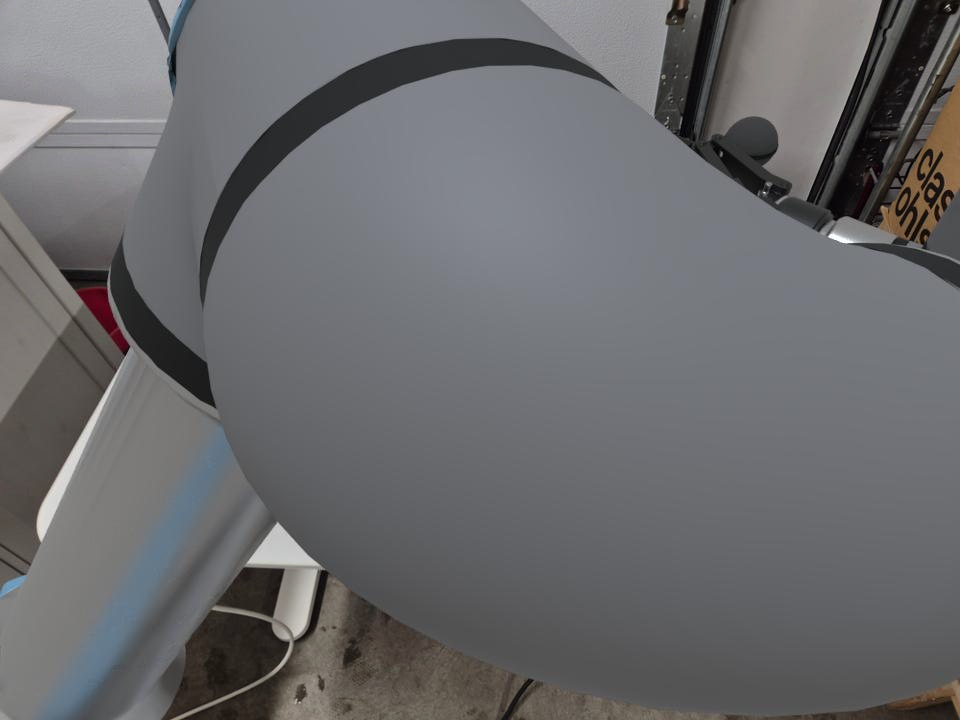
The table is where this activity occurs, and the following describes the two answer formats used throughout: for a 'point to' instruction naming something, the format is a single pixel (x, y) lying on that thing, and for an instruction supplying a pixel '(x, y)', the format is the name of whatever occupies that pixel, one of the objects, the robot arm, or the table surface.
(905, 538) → the robot arm
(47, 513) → the table surface
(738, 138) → the microphone
